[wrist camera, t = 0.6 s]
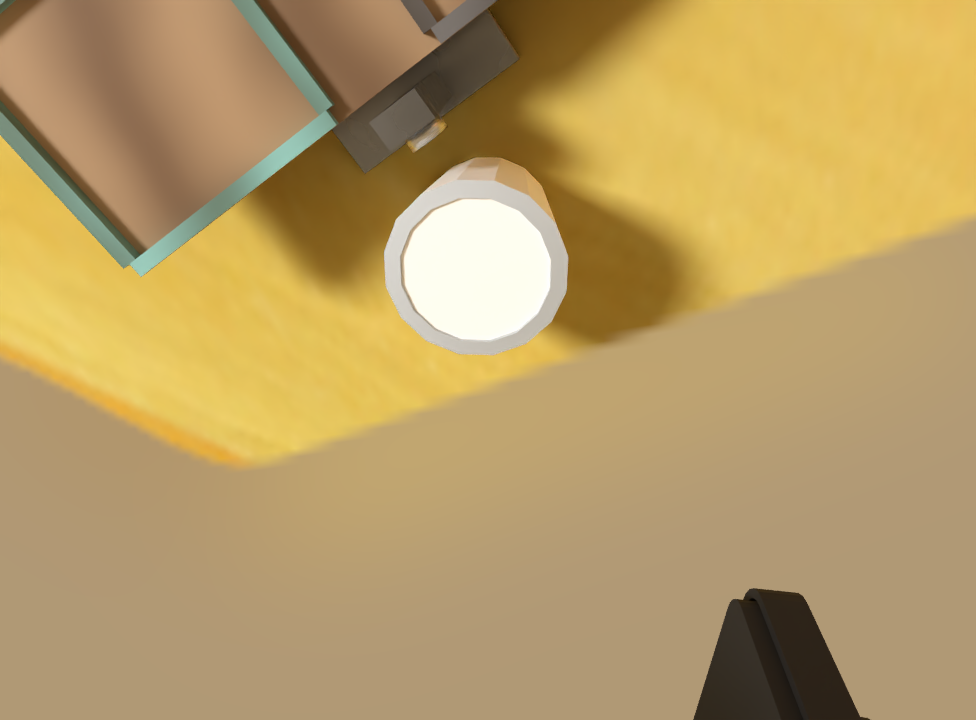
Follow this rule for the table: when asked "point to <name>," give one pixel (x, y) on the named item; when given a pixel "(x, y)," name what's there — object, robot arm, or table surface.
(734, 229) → the table surface
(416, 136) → the pivot stand
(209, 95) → the balance beam board
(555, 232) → the cup of milk
